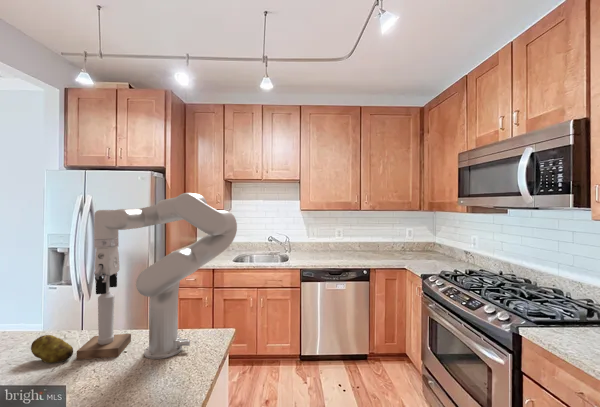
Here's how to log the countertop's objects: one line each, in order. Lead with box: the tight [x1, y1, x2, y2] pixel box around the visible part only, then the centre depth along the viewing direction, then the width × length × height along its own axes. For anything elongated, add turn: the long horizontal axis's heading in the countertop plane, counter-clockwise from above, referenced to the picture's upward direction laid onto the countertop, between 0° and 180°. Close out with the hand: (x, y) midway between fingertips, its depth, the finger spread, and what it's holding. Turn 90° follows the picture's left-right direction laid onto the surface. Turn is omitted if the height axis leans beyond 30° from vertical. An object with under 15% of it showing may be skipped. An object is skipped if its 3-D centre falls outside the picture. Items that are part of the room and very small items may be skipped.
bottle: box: [97, 275, 115, 345], centre depth 115 cm, size 5×5×25 cm
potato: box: [30, 334, 74, 364], centre depth 108 cm, size 8×13×8 cm, turn 67°
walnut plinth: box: [76, 333, 132, 361], centre depth 115 cm, size 13×13×3 cm
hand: (106, 290), depth 115 cm, fingers open, 9 cm apart
